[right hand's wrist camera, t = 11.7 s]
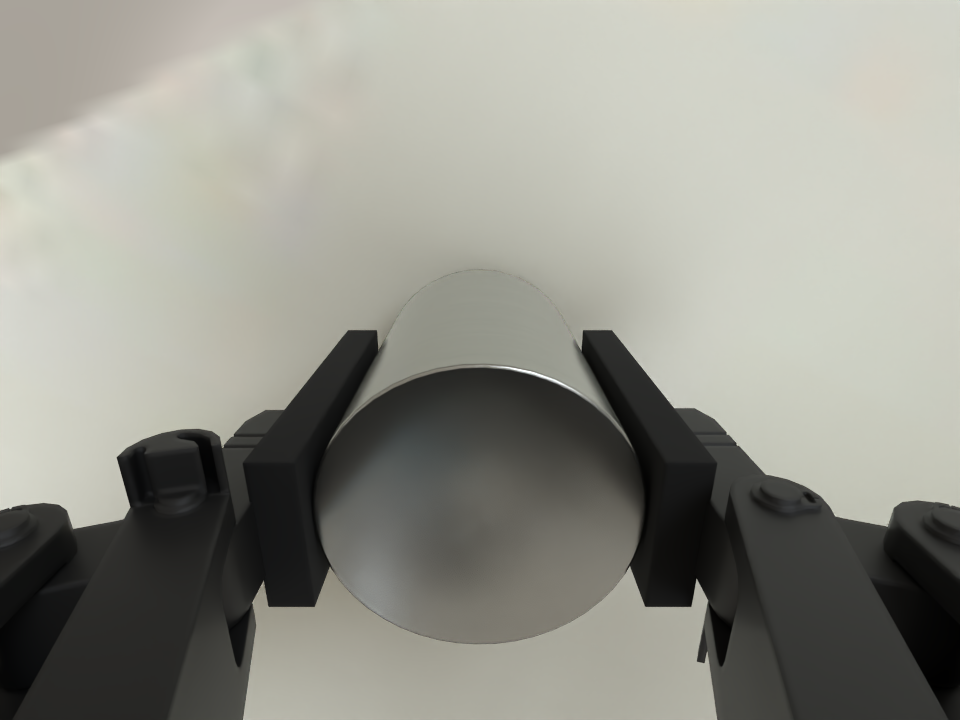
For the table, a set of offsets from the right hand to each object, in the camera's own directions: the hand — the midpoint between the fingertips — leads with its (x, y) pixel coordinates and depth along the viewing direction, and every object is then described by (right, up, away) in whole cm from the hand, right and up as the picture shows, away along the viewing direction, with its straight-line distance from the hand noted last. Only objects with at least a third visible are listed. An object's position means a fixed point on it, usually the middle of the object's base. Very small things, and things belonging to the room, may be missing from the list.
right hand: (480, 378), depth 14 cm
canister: (0, 0, +1) cm, 1 cm away
